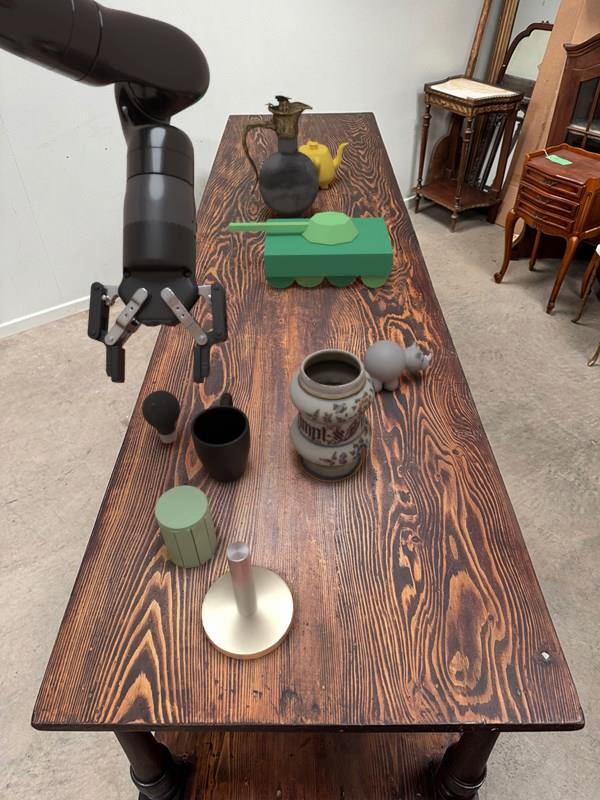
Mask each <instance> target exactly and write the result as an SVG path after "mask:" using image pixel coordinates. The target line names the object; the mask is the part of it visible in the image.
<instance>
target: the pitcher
mask: <svg viewBox="0 0 600 800" xmlns="http://www.w3.org/2000/svg"><path fill="white" fill-rule="evenodd" d="M274 99H275V100H276V101H277V102H278V104H277V105H274V104H273V103H271V102H268V103H266V104H265V103H264V106H267V110H268V112H270V113H271V114H272V118H271V119H270V120H268V121H267V120H262V119H254V120H251V121H248V122H247V123H246V124H245V125H244V127H243V129H242V132H241V146H242V149H243V151H244V155H245V157H246V159H247V160H248V162H249V164H250V165H251V167H252V169H253V171H254V173H255V182H254V185H253V187H252V189H251V191H250V194H249V195H250V197H251V196H252V195H253V194H254V193H255V189H256V187H257V185H258V190H259V194H260V197H261V199H262V201H263V203H264V204H265V205H266V207H267V208H268V209H269V210H270V211H272V212H274V213H275V214H274V219H305V212H307V211H308V210H309V209H310V208H311V207H312V206H313V205H314V203H315V202H316V199H317V197H318V194H319V190H320V189H319V188H320V186H319V176H318V172H317V169H316V166H315V164H314V163H313V161H312V160H311V159H310V158H309V157H308V156H307V155H305V154H303V153H301V152H299V151H298V150H299V147H298V145H299V144H298V142H299V141H298V136H299V120H300V117H301V116H302V114H303V112H305V111H306V110H310V111H312V110H313V106H311V105H309V104H306V103H304V102H301V101H293V102H291V101H290V100H292V99H293V98H292V97H289V96H285V95H280V94H278V95H274ZM256 128H263V129H265V130H272V131H274V132H275V136H276V137H277V151H275V152H274V153H272V154H271V155H269V156H268V157H267V158H266V159H265V161H264V162H263V163H262V165H261V167H260V169H259V172H258V168H257V166H256V164H255V162H254V160H253V158H252V157H251V155H250V153H249V148H248V144H247V136H248V134H249V132H250V131H251V130H253V129H256Z"/></svg>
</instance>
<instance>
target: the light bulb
mask: <svg viewBox="0 0 600 800" xmlns="http://www.w3.org/2000/svg"><path fill="white" fill-rule="evenodd" d="M141 414H142V417H143V418H144V420H145V422H146V423H147V424H148V425H149V426H151V427H152V428H154V429H155V430H156V432H157V433H158V435H159V438H160V440H161V442H162V443H164V444H172V443H173V442H175V441H176V439H177V432H176V424H177V421H178V419H179V417H180V414H181V405H180V402H179V399H178V398H177V397H176V396H175V395H174V394H173V393H172V392H170V391H167V390H162V389H161V390H155V391H152V392H150V393H148V395H146V396H145V398H144V399H143V402H142V405H141Z"/></svg>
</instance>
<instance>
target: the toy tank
mask: <svg viewBox="0 0 600 800" xmlns="http://www.w3.org/2000/svg"><path fill="white" fill-rule="evenodd" d="M266 220H267V221H266V222H229V224H228V229H229V232H230V233H233V232H234V233H236V232H239V233H241V232H265V238H264V239H265V240H264V249H263V264H264V277H265V280H266V281H267V283H268V284H269V285H270V286H271V287H273V288H275V289H286V288H288V287H290V286H291V285H292V284H293V283H294V281H295V282H296V283H297V284H299V285H300V286H302V287H305V288H313V287H317V286H319V284H321V283H322V282H323V280H324V278H325V277H326V279H327V281H328V282H329V283H330V284H331V285H333V286H335V287H340V288H343V287H347V286H350V285H351V284H352V283H354V282H355V281H356V279H357V277H359V276H360V280H361V281H362V283H363V284H364V286H366V287H368V288H371V289H376V288H380V287H382V286H383V285H384V284H385V283H386V282H387V281H388V279H389V276H392V273H393V271H392V270H393V264H394V263H393V261H394V250H393V246H392V243H391V238H390V235H389V231H388V228H387V224H386V222H385V217H384V216H383V217H379V216H378V217H350V216H348V215H347V214H346V213H344V212H337V211H331V210H330V211H324V212H317V213H314V215H313V216H312V217H310V218H304V219H276V218H267V219H266Z"/></svg>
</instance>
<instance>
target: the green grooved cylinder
mask: <svg viewBox="0 0 600 800" xmlns="http://www.w3.org/2000/svg"><path fill="white" fill-rule="evenodd" d="M155 503H156V504H155V507H154V516H155V519H156V521H157V525H158V528H159V530H160V533H161V537H162V540H163V542H164V545H165V548H166V551H167V554H168V556H169V559H170V562H172V564H174V565H176V566H178V567H180V568H182V569H191V568H198V567H201V566H203V565H204V564H205V563H207V562H208V561H209V560H210V559H212V558H213V556H214V555H215V552H216V549H217V546H218V539H217V534H216V530H215V524H214V521H213V520H214V519H213V516H212V511H211V505H210V503H209V501H208V497H207V496H206V494H205V493H204V491H203V490H201V489H199V488H198V487H196V486H193V485H185V484H184V485H178V486H175V487H172V488H170V489H168V490H166V491H165V492H164V493H163V494H162V495H160V497H158V499H157V502H155Z"/></svg>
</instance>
